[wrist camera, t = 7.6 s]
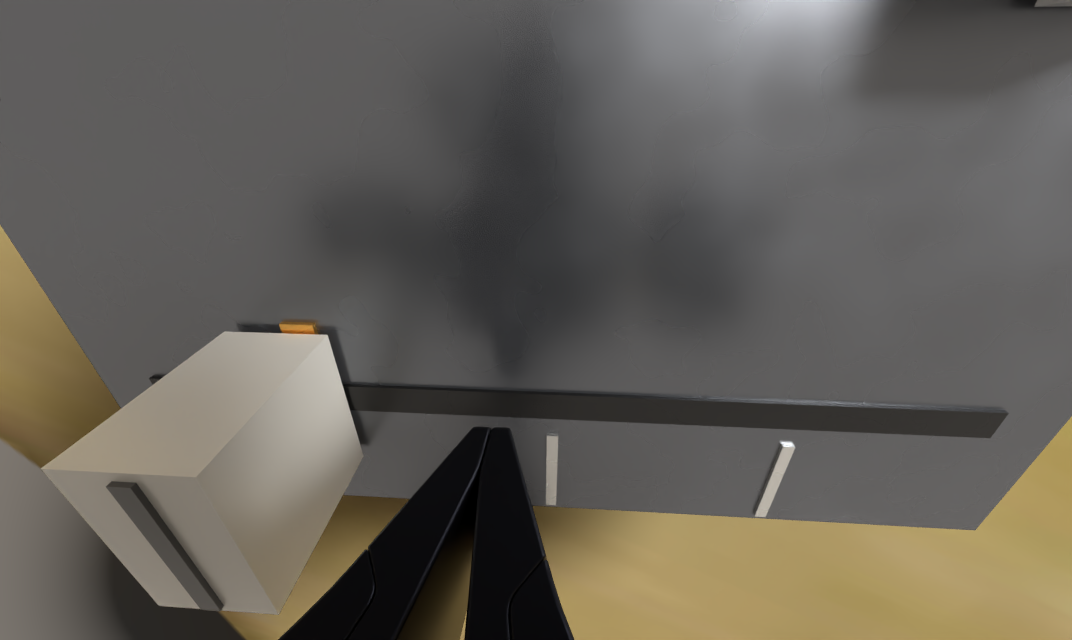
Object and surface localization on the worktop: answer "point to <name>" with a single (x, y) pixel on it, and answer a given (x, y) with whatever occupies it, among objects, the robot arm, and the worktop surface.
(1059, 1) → the block white
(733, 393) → the panel
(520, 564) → the robot arm
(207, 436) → the block
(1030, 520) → the worktop surface
